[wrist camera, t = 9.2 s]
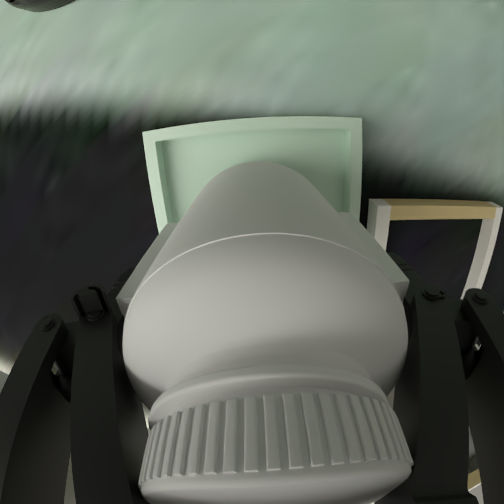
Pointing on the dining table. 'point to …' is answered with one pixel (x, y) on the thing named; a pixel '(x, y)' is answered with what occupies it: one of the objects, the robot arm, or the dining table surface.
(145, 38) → the dining table surface
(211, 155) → the tray
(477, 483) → the dispenser
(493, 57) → the dining table surface
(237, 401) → the pill bottle
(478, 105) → the dining table surface
